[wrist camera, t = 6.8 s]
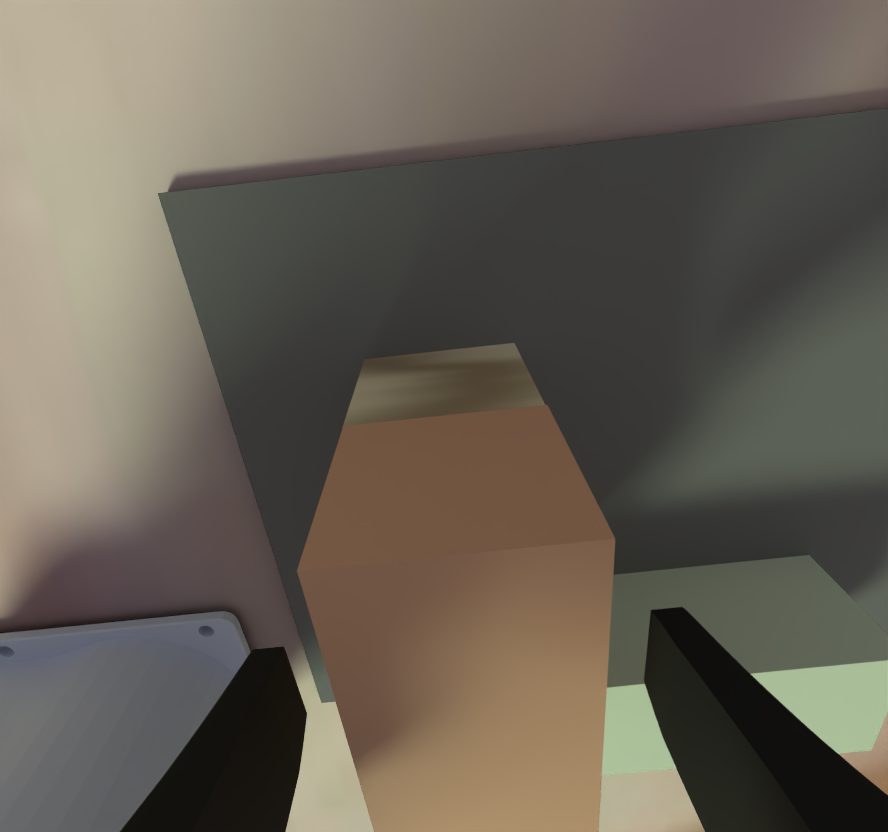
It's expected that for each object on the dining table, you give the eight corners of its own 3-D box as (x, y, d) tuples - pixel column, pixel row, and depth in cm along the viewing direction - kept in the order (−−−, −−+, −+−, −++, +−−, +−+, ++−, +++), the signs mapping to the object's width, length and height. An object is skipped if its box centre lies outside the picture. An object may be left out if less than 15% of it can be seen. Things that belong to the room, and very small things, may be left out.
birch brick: (409, 606, 18) (405, 719, 14) (364, 359, 14) (342, 427, 10) (525, 594, 18) (551, 705, 14) (514, 342, 14) (545, 406, 10)
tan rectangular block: (404, 718, 14) (397, 909, 10) (343, 425, 10) (296, 570, 6) (551, 704, 14) (595, 892, 10) (547, 404, 10) (615, 539, 6)
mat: (323, 693, 20) (321, 702, 20) (165, 192, 12) (157, 193, 12) (999, 627, 20) (1010, 635, 19) (1292, 61, 12) (1319, 57, 11)
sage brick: (542, 663, 19) (569, 778, 15) (540, 582, 17) (569, 691, 14) (786, 639, 19) (871, 750, 15) (809, 554, 17) (911, 658, 14)
